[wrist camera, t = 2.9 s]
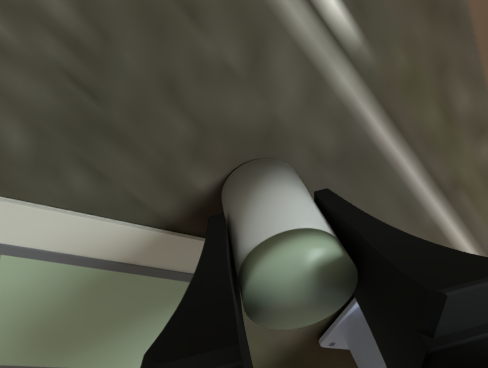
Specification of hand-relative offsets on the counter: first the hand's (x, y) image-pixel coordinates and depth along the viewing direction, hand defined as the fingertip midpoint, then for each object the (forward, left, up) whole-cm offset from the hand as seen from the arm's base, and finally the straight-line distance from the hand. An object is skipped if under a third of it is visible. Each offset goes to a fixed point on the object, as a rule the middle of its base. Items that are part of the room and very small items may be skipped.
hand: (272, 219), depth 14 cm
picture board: (+6, +11, -2) cm, 13 cm away
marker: (0, 0, -2) cm, 2 cm away
